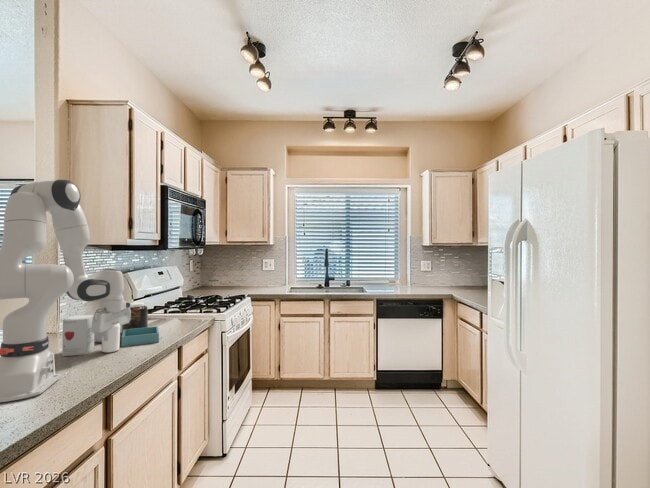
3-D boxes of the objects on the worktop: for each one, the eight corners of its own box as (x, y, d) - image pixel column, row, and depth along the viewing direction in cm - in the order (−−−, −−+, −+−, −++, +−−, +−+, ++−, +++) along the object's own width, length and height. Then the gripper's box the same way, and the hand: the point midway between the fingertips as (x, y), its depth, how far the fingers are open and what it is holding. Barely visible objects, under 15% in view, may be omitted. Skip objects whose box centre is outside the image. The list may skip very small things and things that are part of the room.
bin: (158, 342, 162) (158, 333, 162) (121, 346, 155) (121, 337, 155) (158, 334, 175) (158, 326, 175) (123, 338, 169) (123, 329, 169)
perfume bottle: (112, 338, 168) (112, 314, 168) (110, 344, 159) (110, 317, 159) (94, 340, 164) (94, 315, 164) (90, 346, 156) (90, 319, 156)
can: (110, 353, 145) (111, 324, 145) (97, 352, 146) (98, 323, 146) (122, 349, 151) (123, 321, 151) (110, 347, 153) (111, 320, 153)
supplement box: (61, 356, 141) (61, 319, 141) (71, 350, 150) (71, 315, 150) (86, 354, 144) (87, 318, 144) (95, 348, 152) (95, 314, 152)
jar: (146, 334, 177) (146, 304, 177) (120, 336, 172) (120, 306, 172) (148, 328, 188) (148, 300, 188) (123, 330, 183) (124, 302, 183)
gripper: (102, 310, 139) (101, 345, 139) (133, 302, 159) (133, 332, 159) (86, 310, 139) (86, 345, 139) (120, 302, 160) (120, 332, 160)
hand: (112, 338), depth 149 cm, fingers closed on can, 5 cm apart
